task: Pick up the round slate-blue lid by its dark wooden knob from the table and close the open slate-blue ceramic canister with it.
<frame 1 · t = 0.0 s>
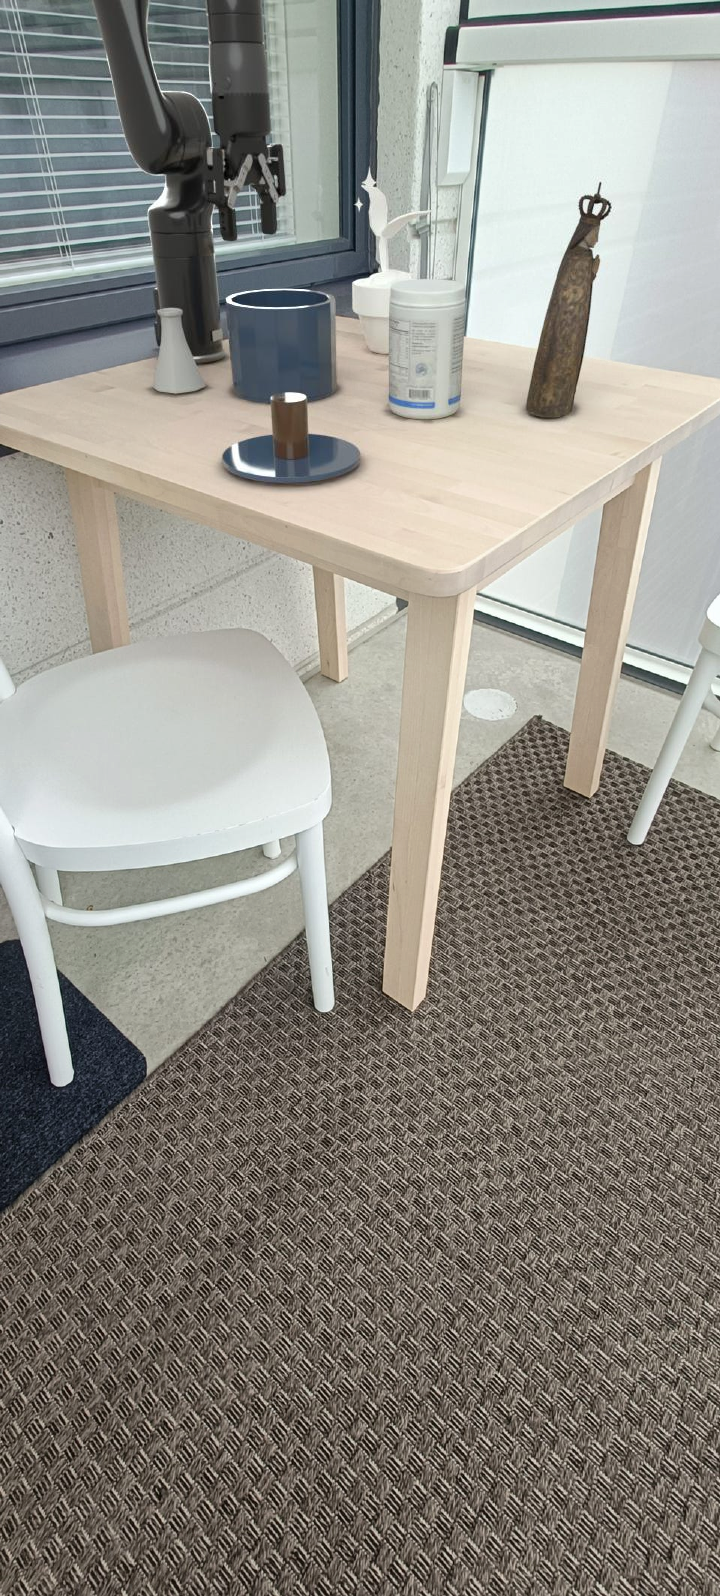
hand: (249, 237, 123), 17 cm above the table, tool pointing down, fingers open, 8 cm apart
potted plant: (390, 352, 144), on the table
statue: (551, 412, 117), on the table
lid: (291, 459, 99), point 1 cm above the table
canister: (284, 389, 125), on the table
flask: (179, 390, 126), on the table
supplement tub: (423, 412, 116), on the table
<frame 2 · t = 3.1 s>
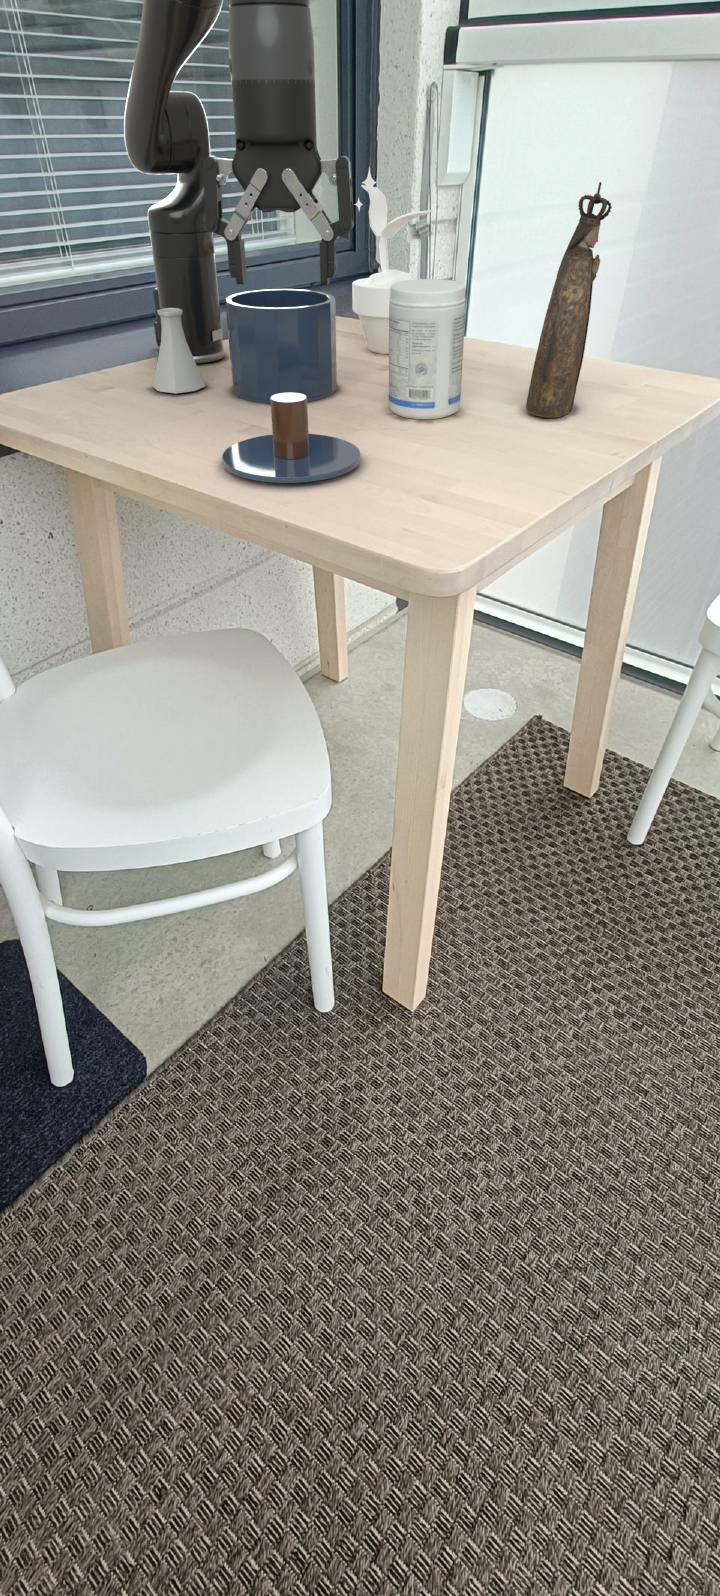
hand: (283, 283, 88), 18 cm above the table, tool pointing down, fingers open, 8 cm apart
nothing on the table moved.
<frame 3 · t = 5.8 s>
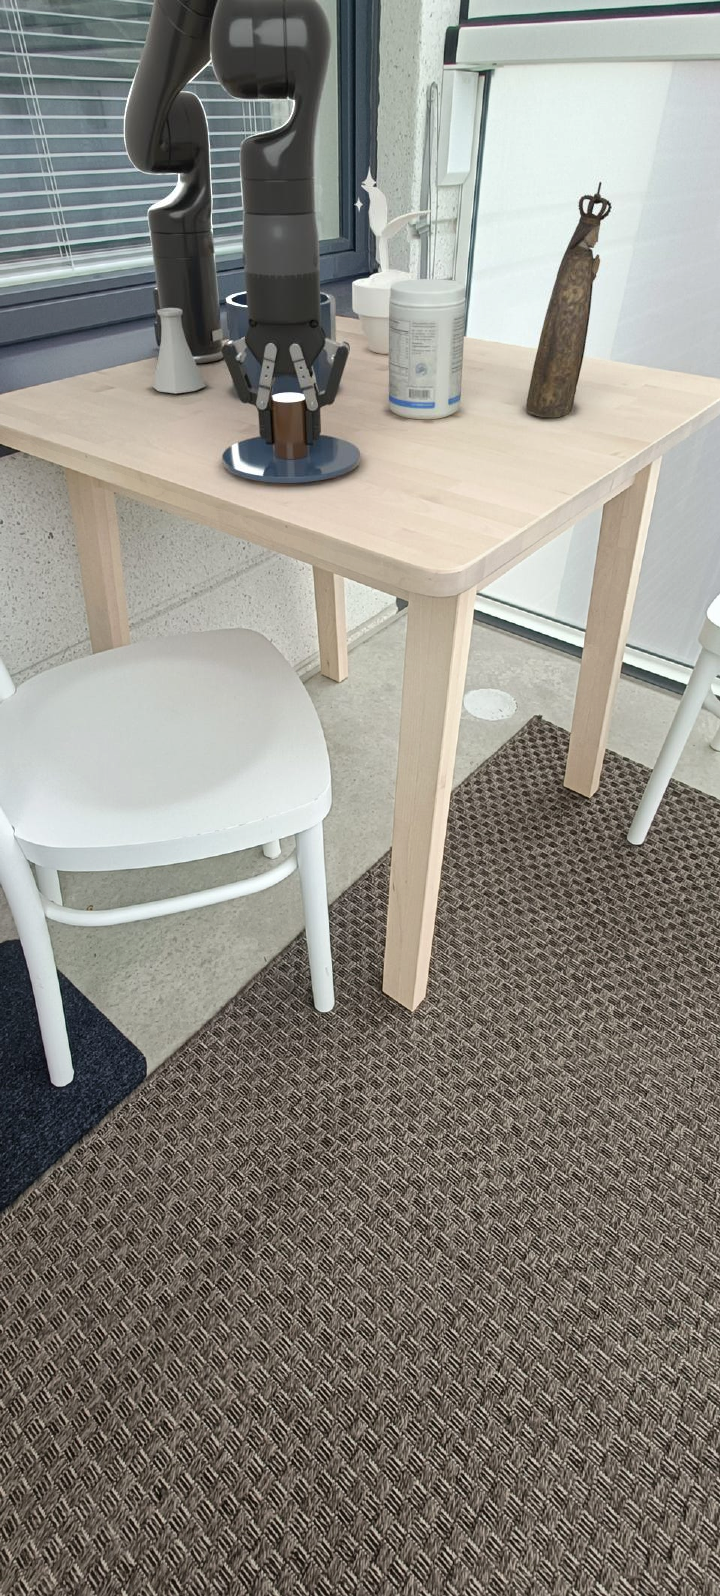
hand: (290, 442, 98), 2 cm above the table, tool pointing down, fingers closed on lid, 4 cm apart
lid: (291, 459, 99), point 1 cm above the table, touching gripper
everything else where it was.
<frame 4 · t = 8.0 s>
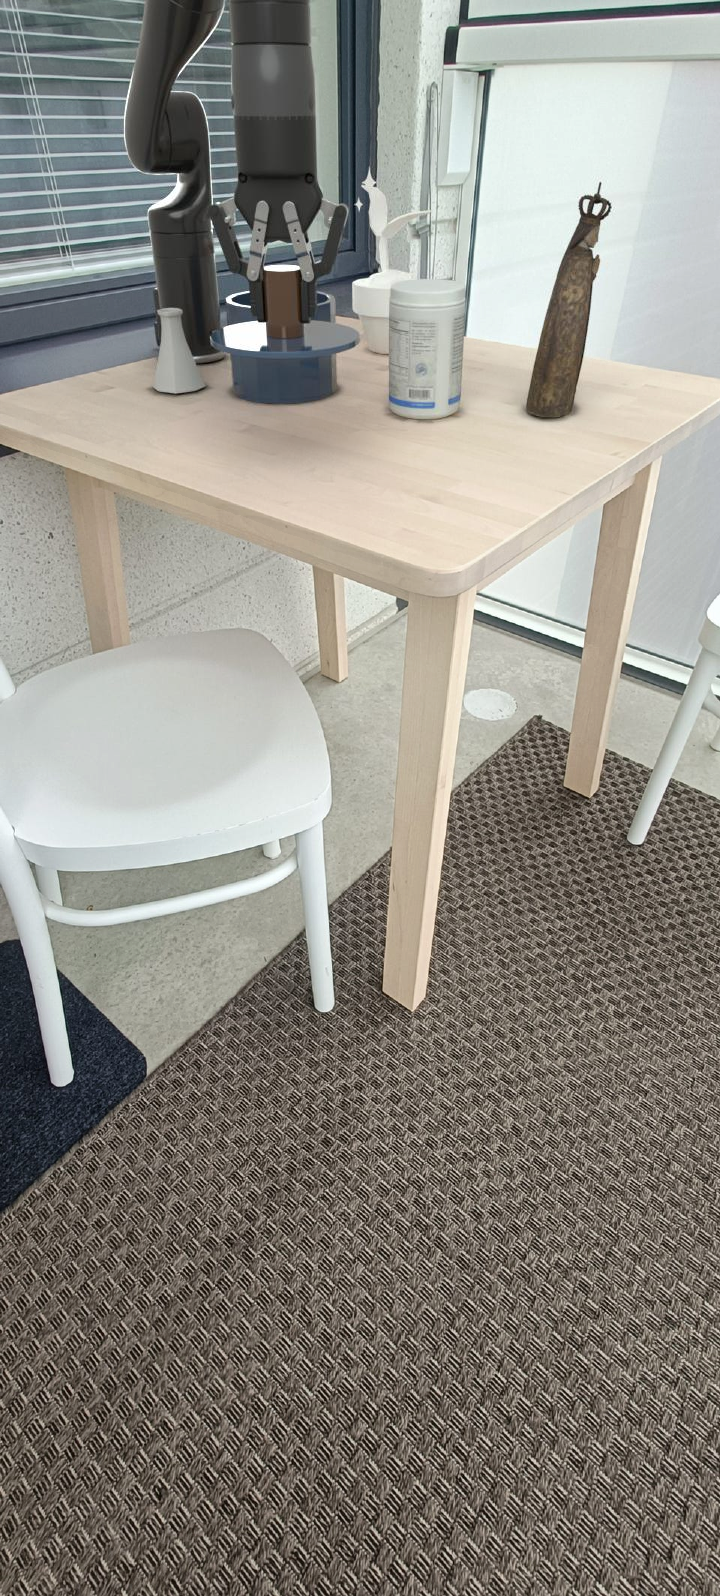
hand: (284, 320, 90), 15 cm above the table, tool pointing down, fingers closed on lid, 4 cm apart
lid: (285, 341, 91), point 13 cm above the table, touching gripper
everything else where it was.
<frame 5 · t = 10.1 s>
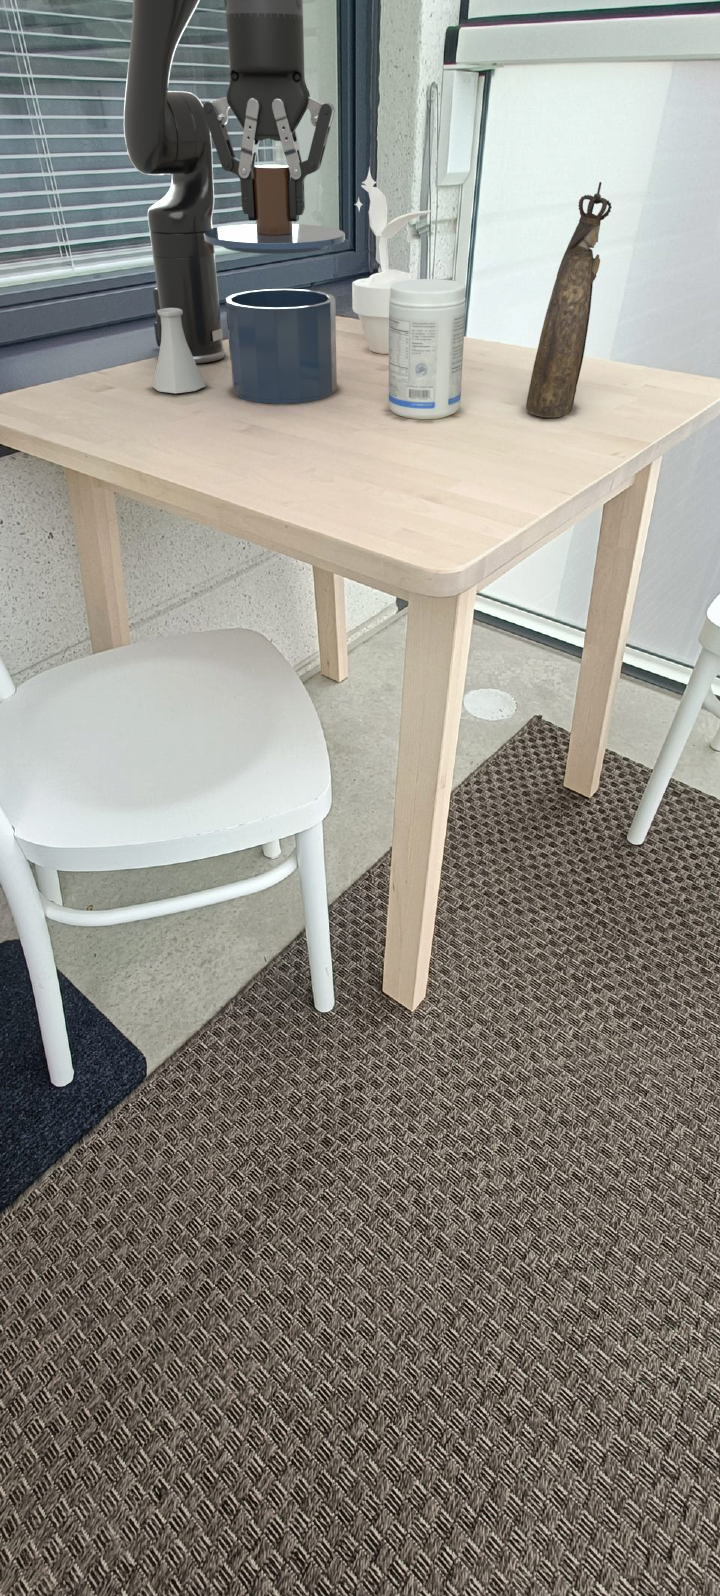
hand: (273, 219, 96), 22 cm above the table, tool pointing down, fingers closed on lid, 4 cm apart
lid: (274, 239, 97), point 20 cm above the table, touching gripper
everything else where it was.
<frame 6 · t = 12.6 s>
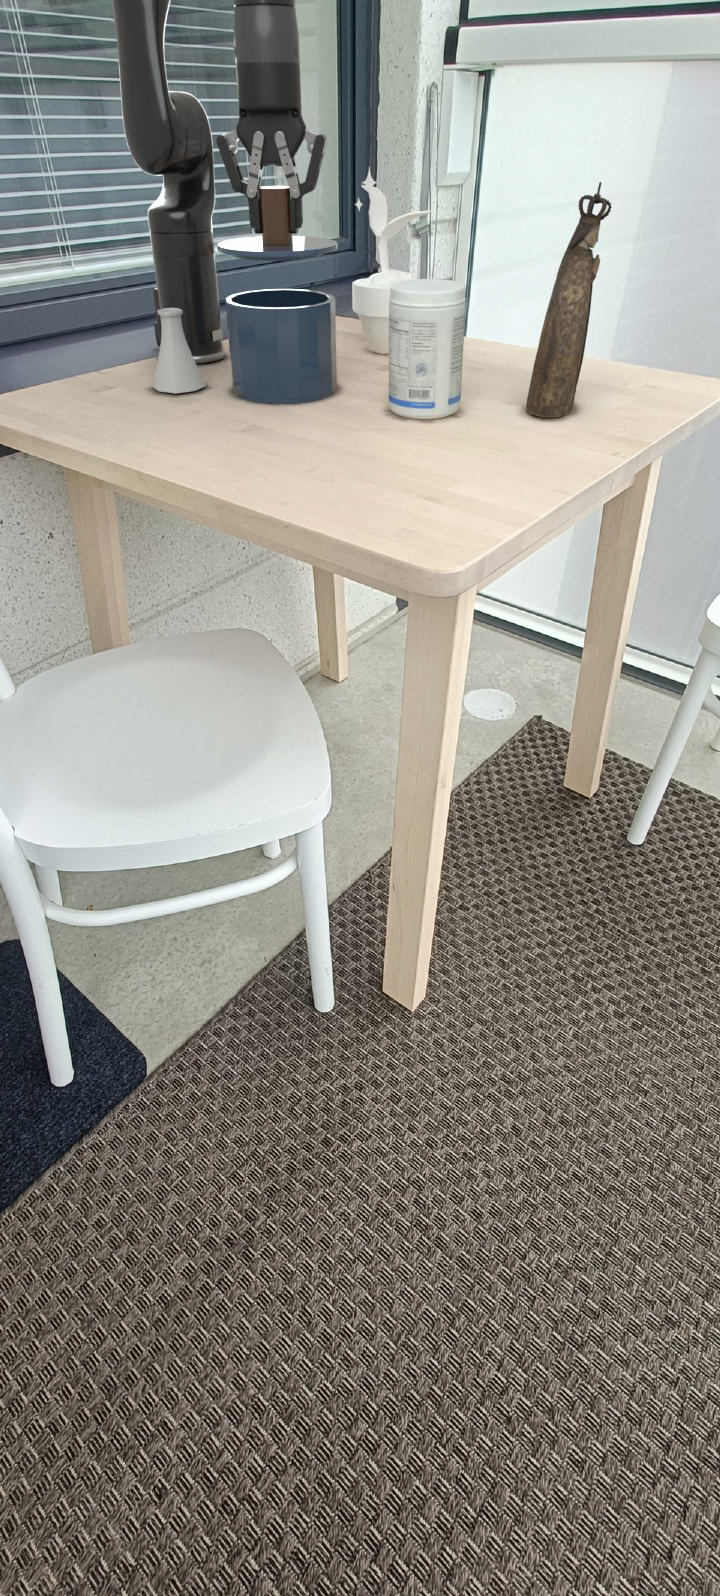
hand: (276, 232, 113), 19 cm above the table, tool pointing down, fingers closed on lid, 4 cm apart
lid: (277, 248, 114), point 17 cm above the table, touching gripper
everything else where it was.
when the fingers open (13 cm above the table, at t = 14.4 s): lid stays where it is, resting on canister.
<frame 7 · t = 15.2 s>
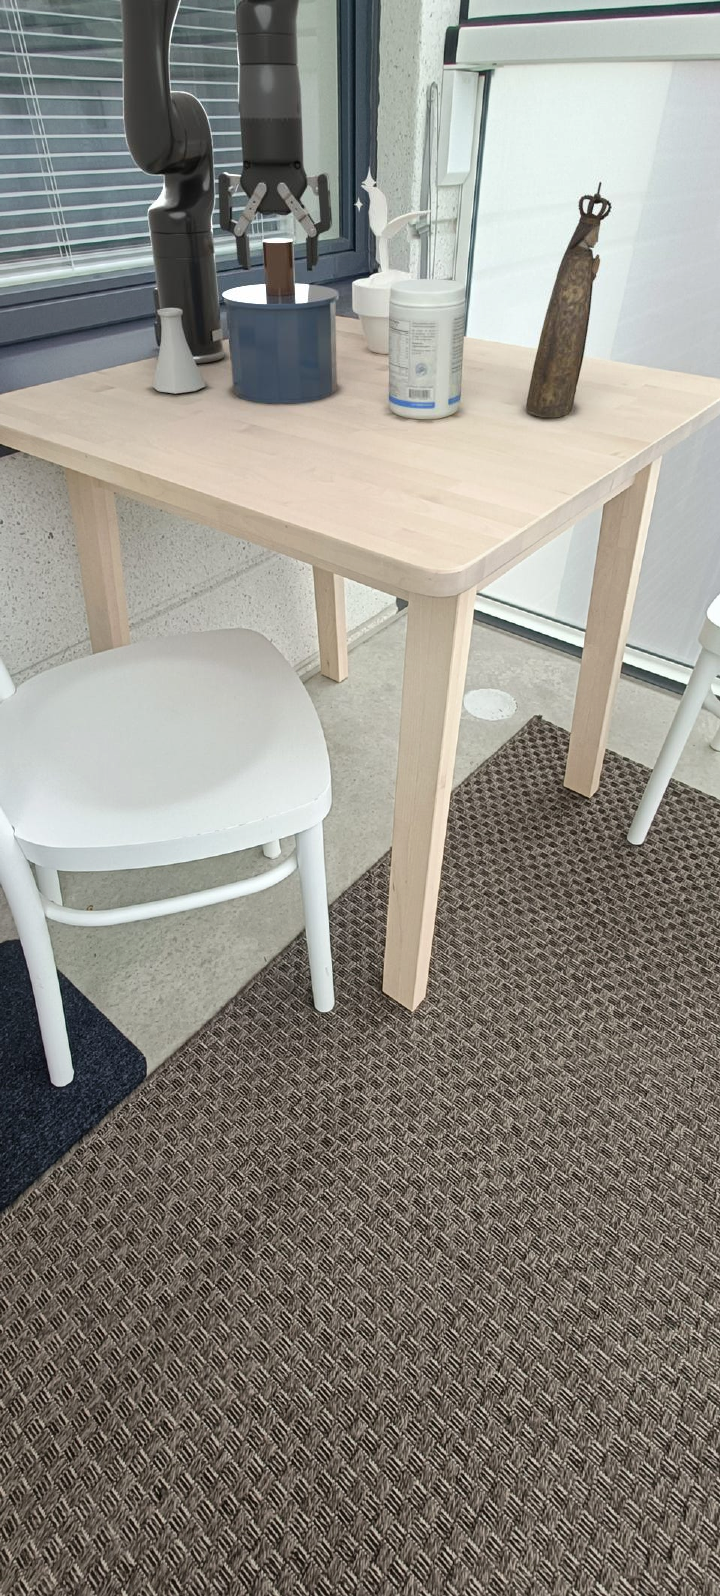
hand: (278, 269, 115), 15 cm above the table, tool pointing down, fingers open, 8 cm apart
lid: (280, 298, 118), point 11 cm above the table, touching canister
everything else where it was.
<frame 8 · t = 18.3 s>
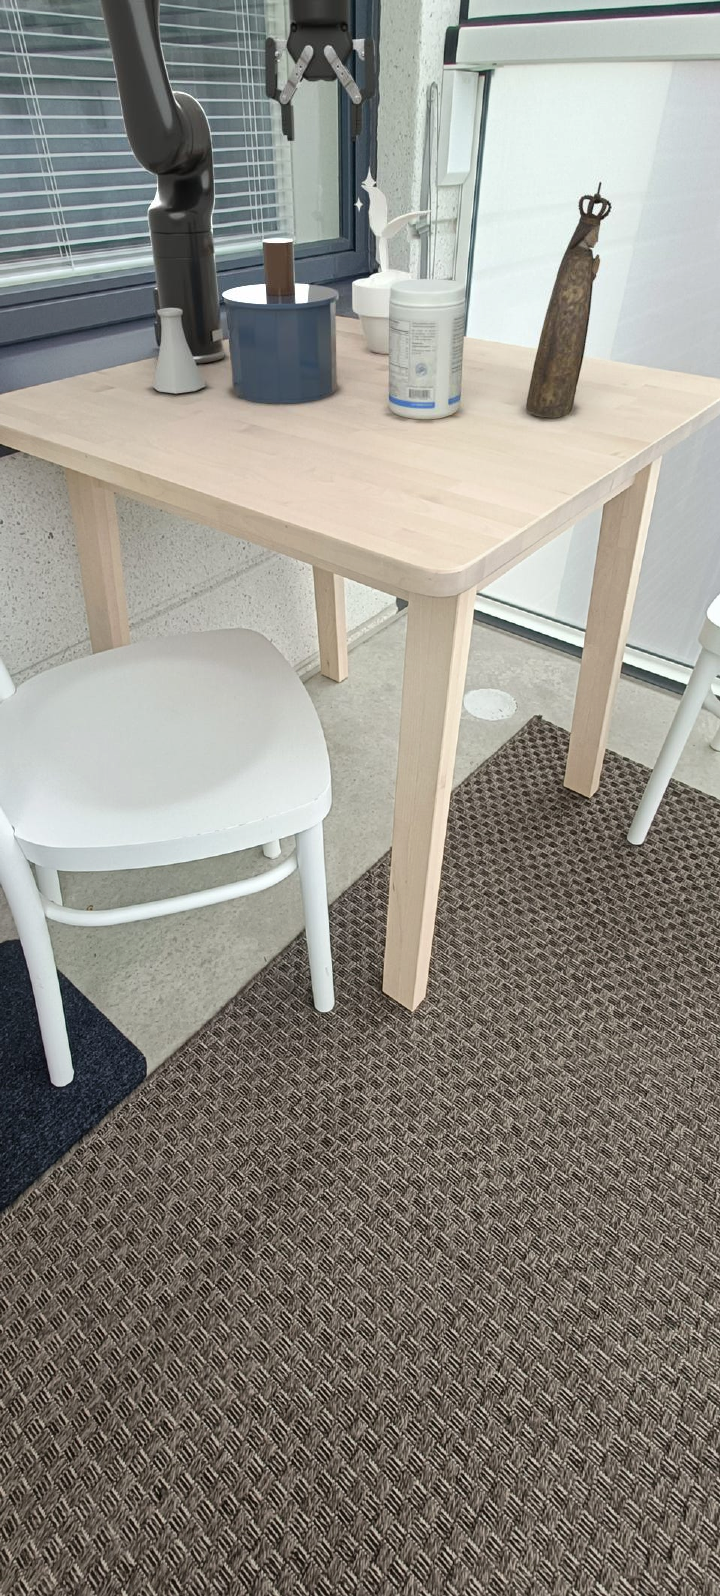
hand: (322, 140, 116), 28 cm above the table, tool pointing down, fingers open, 8 cm apart
nothing on the table moved.
at the end: lid 0.1 cm off-centre on the canister, point 11.5 cm above the canister's base; lid tilted 0° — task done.
